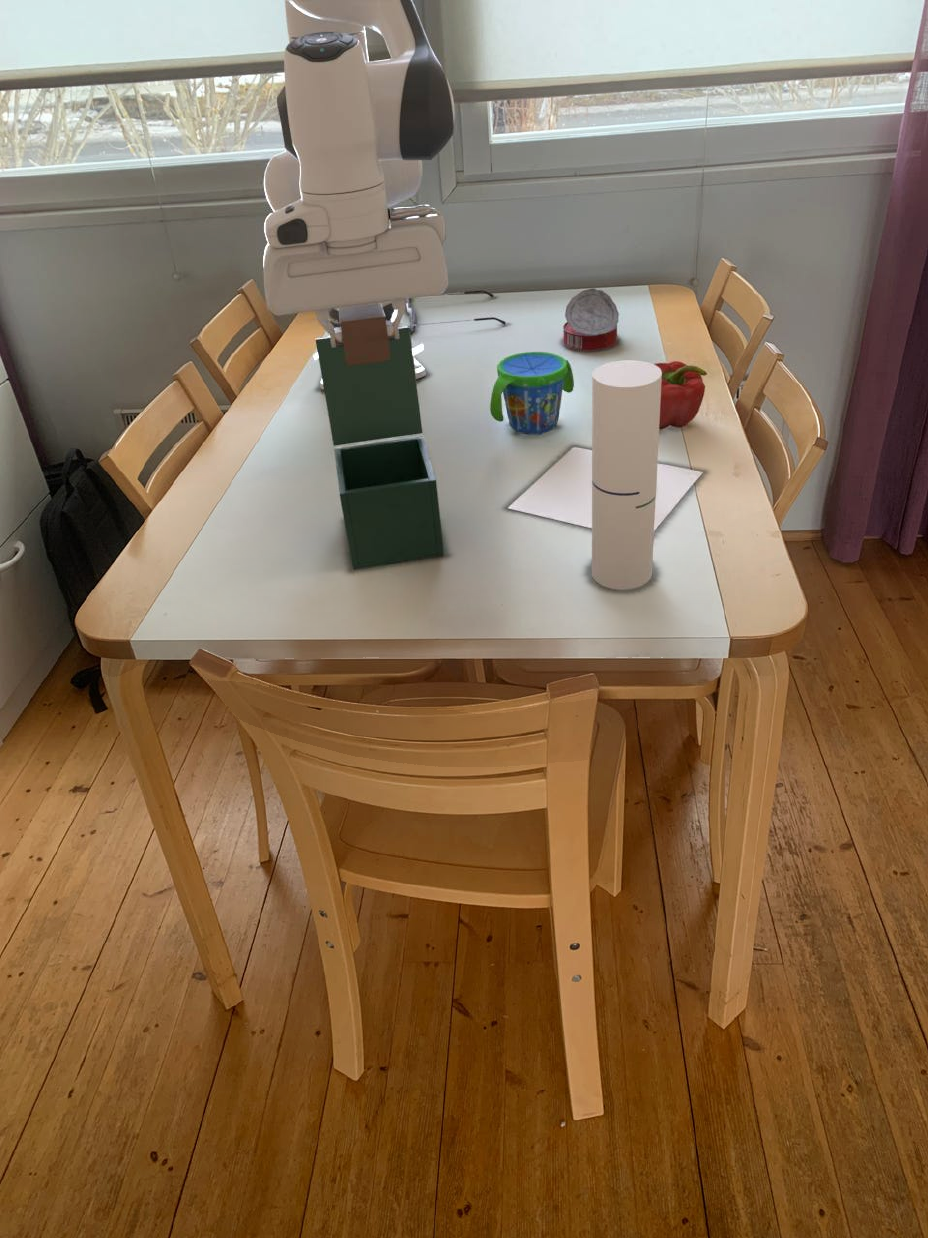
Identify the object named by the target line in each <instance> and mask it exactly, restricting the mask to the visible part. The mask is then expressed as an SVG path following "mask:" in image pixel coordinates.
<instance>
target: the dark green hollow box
mask: <svg viewBox="0 0 928 1238" xmlns="http://www.w3.org/2000/svg"><path fill="white" fill-rule="evenodd" d="M333 449H334V450H333V451H334V459H335V467H336V476H337V485H338V492H339V499H340V506H341V510H342V515H343V520H344V528H345V534H346V539H347V544H348V550H349V556H350V561H351V562H350V563H351V566H352V570H353V571H354V570H359V569H360V570H361V569H367V568H372V567H379V566H380V567H381V566H385V565H394V564H398V563H406V562H411V561H420V560H424V559H431V558H437V557H444V556H445V551H444V543H443V542H444V541H443V534H442V533H443V532H442V524H441V514H440V504H439V495H438V486H437V485H438V484H437V478H436V475H435V472H434V469H433V466H432V462H431V459H430V456H429V452H428V449H427V446H426V442H425V439H424V436H423V435H420V436H414V437H406V438H400V439H399V438H398V439H393V440H386V441H378V442H372V443H364V444H357V445H356V444H355V445H350V446H349V445H348V446H343V447H334V448H333Z"/></svg>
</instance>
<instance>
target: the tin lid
mask: <svg viewBox="0 0 928 1238" xmlns="http://www.w3.org/2000/svg"><path fill="white" fill-rule="evenodd" d="M409 327H410V325H409V326H405V327H400V328H398V329H399V339H394V340H388V341H389V349H390V357H391V360H388V361H380V362H373V363H366V364H358V365H351V366H347V362H346V356H345V350H344V346H341V347H335V348H332V346H331V340H330V337H328V336H325V337H318V338H315V345H316V351H317V353H318V357H319V358H318V363H319V368H320V374H321V379H322V381H323V387H324V390H323V392H324V397H325V402H326V410H327V415H328V421H329V427H330V433H331V439H332V444H333V445H332V446H334V447H336V446H343V445H350V444H356V443H365V442H372V441H376V440H379V441H380V440H386V439H392V438H393V439H394V438H399V437H406V436H413V435H421V434H423V425H422V424H423V423H422V416H421V410H420V402H419V401H420V400H419V393H418V387H417V386H418V385H417V379H416V377H415V369H414V361H413V353H412V348H413V344H412V345H411V341H412V336H411V337H410V334H411V333H410V329H409Z"/></svg>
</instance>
